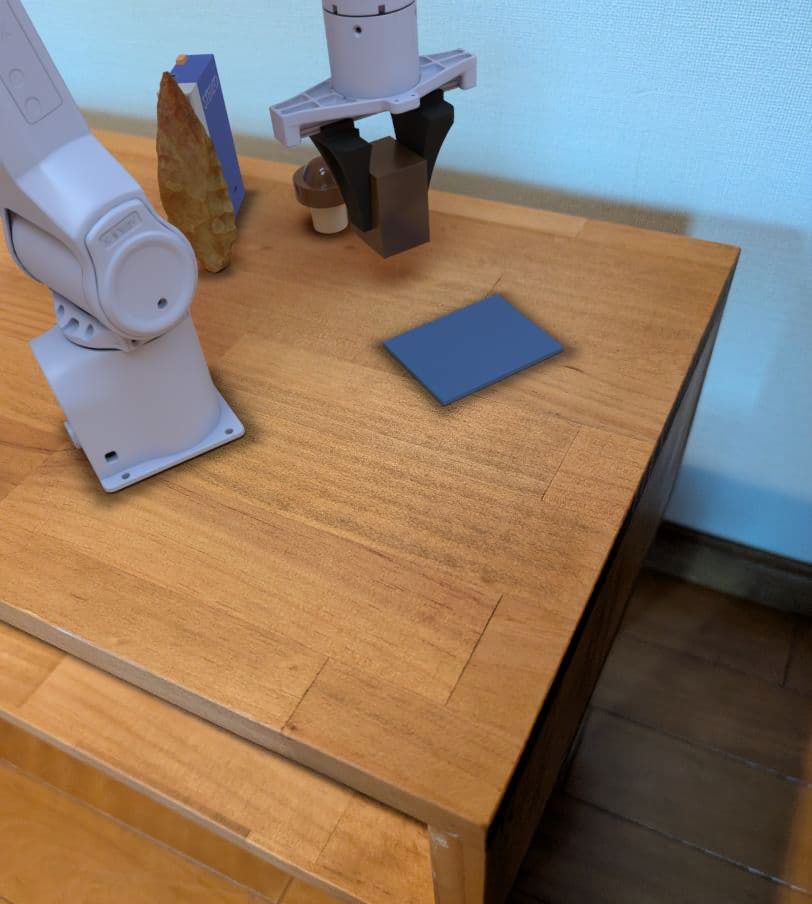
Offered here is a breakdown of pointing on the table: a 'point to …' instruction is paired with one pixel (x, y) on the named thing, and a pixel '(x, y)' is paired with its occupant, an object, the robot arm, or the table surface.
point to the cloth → (471, 348)
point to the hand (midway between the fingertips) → (387, 216)
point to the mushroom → (320, 196)
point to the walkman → (211, 115)
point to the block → (396, 199)
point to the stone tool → (192, 179)
